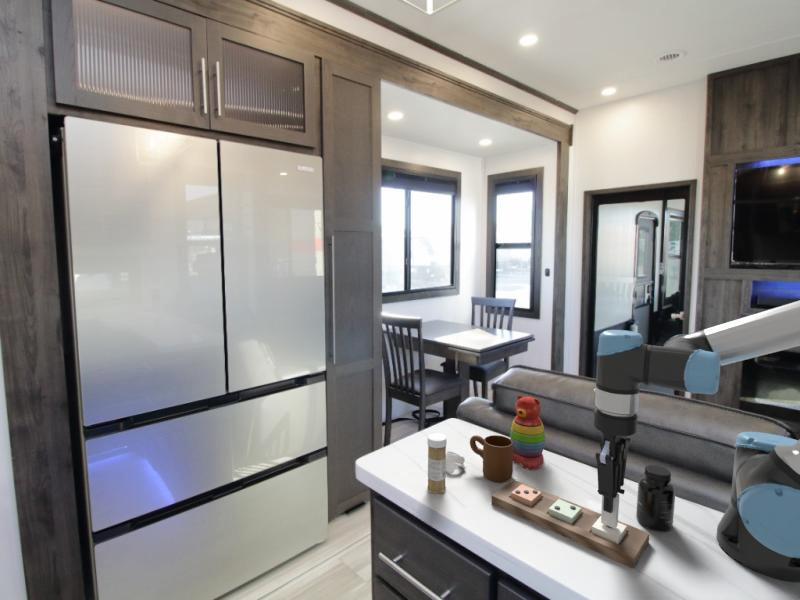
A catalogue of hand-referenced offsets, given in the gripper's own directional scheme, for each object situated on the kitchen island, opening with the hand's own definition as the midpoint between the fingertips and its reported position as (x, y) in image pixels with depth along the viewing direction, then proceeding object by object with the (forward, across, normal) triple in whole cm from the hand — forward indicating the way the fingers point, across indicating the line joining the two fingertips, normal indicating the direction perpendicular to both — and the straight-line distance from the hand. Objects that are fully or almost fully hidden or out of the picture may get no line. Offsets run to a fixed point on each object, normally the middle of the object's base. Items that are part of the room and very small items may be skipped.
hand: (609, 524), depth 87 cm
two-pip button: (+4, 0, -9) cm, 10 cm away
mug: (+4, -7, -32) cm, 33 cm away
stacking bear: (+4, -21, -29) cm, 36 cm away
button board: (+4, 0, -9) cm, 10 cm away
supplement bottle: (+4, -13, +5) cm, 14 cm away
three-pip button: (+4, 0, -18) cm, 18 cm away
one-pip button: (+3, 0, 0) cm, 3 cm away
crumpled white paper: (+4, -3, -41) cm, 41 cm away
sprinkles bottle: (+4, +9, -37) cm, 38 cm away
